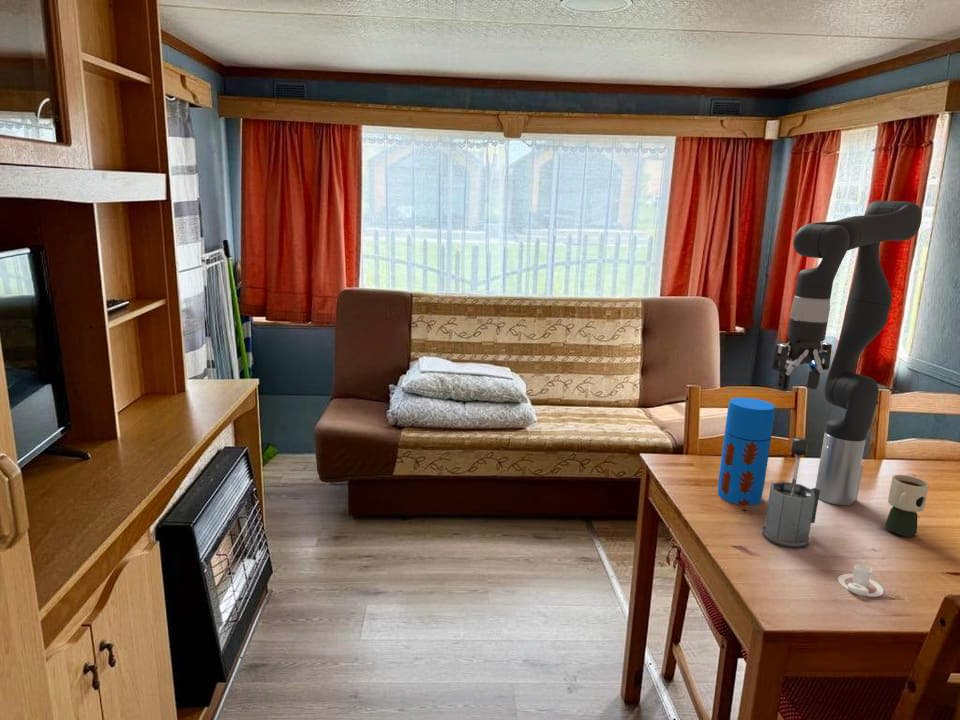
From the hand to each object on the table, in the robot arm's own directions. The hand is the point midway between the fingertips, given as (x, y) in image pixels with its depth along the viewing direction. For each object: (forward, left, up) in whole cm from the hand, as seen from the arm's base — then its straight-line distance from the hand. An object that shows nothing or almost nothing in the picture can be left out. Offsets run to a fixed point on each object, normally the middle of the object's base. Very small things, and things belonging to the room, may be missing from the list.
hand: (797, 389), depth 147 cm
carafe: (+2, +6, -33) cm, 34 cm away
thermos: (-3, -15, -33) cm, 37 cm away
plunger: (+3, +6, -24) cm, 25 cm away
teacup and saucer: (+6, +24, -34) cm, 42 cm away
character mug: (-26, +12, -33) cm, 44 cm away
